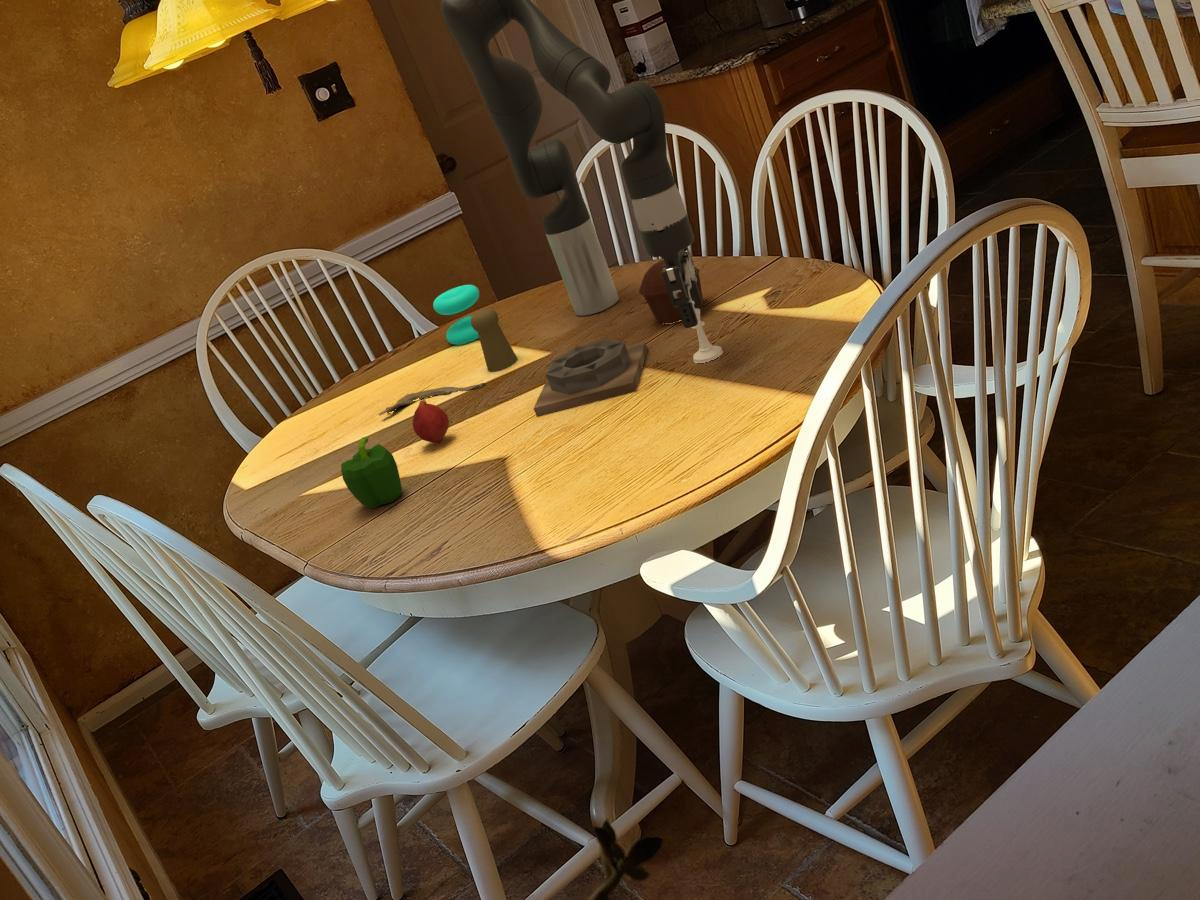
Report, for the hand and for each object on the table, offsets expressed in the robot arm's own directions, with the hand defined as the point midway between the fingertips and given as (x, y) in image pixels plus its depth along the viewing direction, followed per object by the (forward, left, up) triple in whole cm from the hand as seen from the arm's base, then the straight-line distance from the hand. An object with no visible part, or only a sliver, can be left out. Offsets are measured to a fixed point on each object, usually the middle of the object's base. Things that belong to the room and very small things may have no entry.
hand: (694, 316), depth 174 cm
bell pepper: (+24, -50, -8) cm, 56 cm away
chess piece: (0, 0, -8) cm, 8 cm away
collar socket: (-2, -20, -7) cm, 21 cm away
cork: (-23, -42, -8) cm, 49 cm away
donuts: (-46, -55, -8) cm, 72 cm away
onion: (+7, -46, -8) cm, 47 cm away
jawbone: (-13, -54, -8) cm, 56 cm away
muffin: (-24, -7, -8) cm, 26 cm away
